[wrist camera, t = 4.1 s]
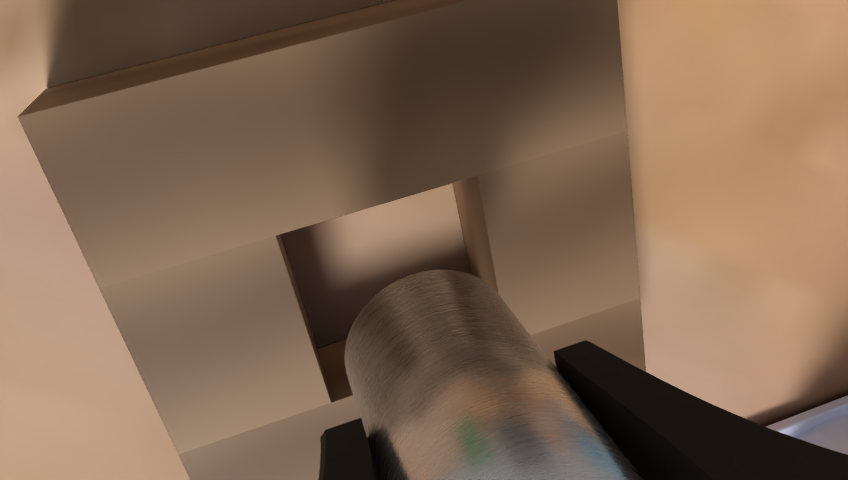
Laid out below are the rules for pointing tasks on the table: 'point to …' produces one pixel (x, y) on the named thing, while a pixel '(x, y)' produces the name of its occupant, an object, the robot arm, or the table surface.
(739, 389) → the table surface
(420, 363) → the long pin
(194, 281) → the socket block
